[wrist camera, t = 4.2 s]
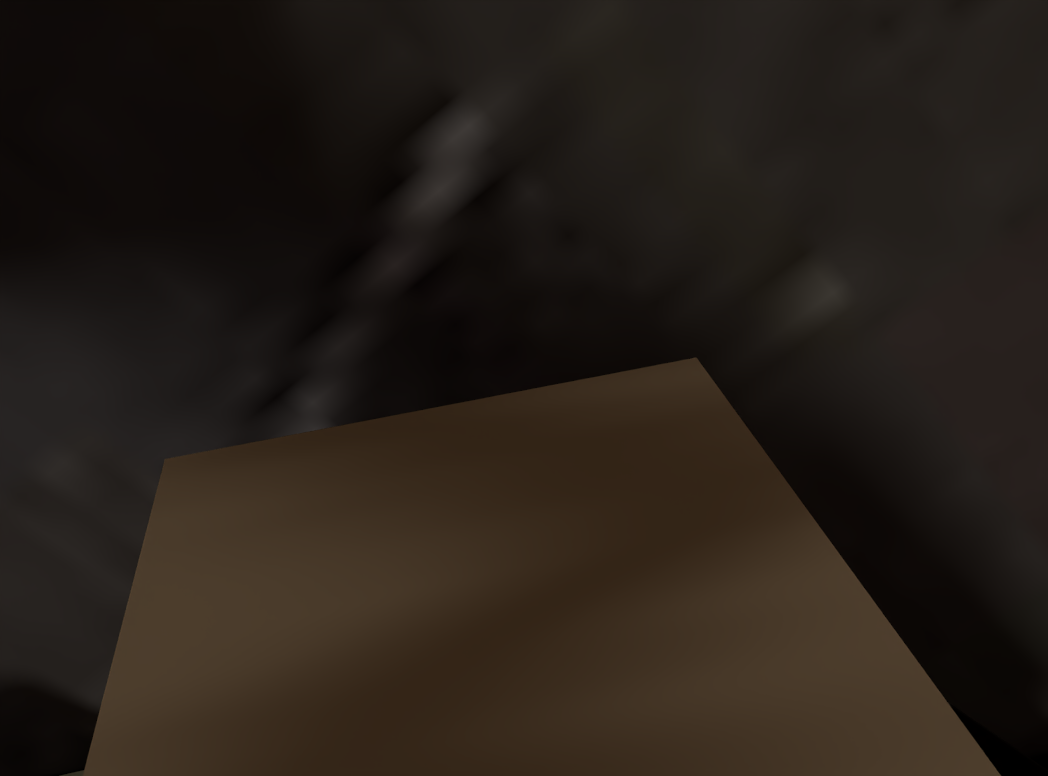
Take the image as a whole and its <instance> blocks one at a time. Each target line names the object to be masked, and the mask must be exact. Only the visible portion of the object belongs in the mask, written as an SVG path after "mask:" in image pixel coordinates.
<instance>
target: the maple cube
mask: <svg viewBox="0 0 1048 776" xmlns="http://www.w3.org/2000/svg"><path fill="white" fill-rule="evenodd" d="M83 776H1001V775H1000V774H999V772H998V771H997V770H996V768H995V767H994V766H993V764H992V763H991V761H990V760H989V759H988V757H987V756H986V755H985V753H984V752H983V750H982V749H981V748H980V746H979V745H978V744H977V742H976V741H975V739H974V738H973V737H972V735H971V734H970V733H969V731H968V730H967V728H966V727H965V726H964V724H963V723H962V722H961V720H960V719H959V717H958V716H957V715H956V713H955V712H954V711H953V709H952V708H951V707H950V705H949V704H948V702H947V701H946V700H945V698H944V697H943V696H942V694H941V693H940V691H939V690H938V689H937V687H936V686H935V685H934V683H933V682H932V680H931V679H930V678H929V676H928V675H927V674H926V672H925V671H924V669H923V668H922V667H921V665H920V664H919V663H918V661H917V660H916V658H915V657H914V656H913V654H912V653H911V652H910V650H909V649H908V647H907V646H906V645H905V643H904V642H903V641H902V639H901V638H900V636H899V635H898V634H897V632H896V631H895V630H894V628H893V627H892V625H891V624H890V623H889V621H888V620H887V619H886V617H885V616H884V615H883V613H882V612H881V610H880V609H879V608H878V606H877V605H876V604H875V602H874V601H873V599H872V598H871V597H870V595H869V594H868V593H867V591H866V590H865V588H864V587H863V586H862V584H861V583H860V582H859V580H858V579H857V577H856V576H855V575H854V573H853V572H852V571H851V569H850V568H849V566H848V565H847V564H846V562H845V561H844V560H843V558H842V557H841V555H840V554H839V553H838V551H837V550H836V549H835V547H834V546H833V544H832V543H831V542H830V540H829V539H828V538H827V536H826V535H825V533H824V532H823V531H822V529H821V528H820V527H819V525H818V524H817V523H816V521H815V520H814V518H813V517H812V516H811V514H810V513H809V512H808V510H807V509H806V507H805V506H804V505H803V503H802V502H801V501H800V499H799V498H798V496H797V495H796V494H795V492H794V491H793V490H792V488H791V487H790V485H789V484H788V483H787V481H786V480H785V479H784V477H783V476H782V474H781V473H780V472H779V470H778V469H777V468H776V466H775V465H774V463H773V462H772V461H771V459H770V458H769V457H768V455H767V454H766V452H765V451H764V450H763V448H762V447H761V446H760V444H759V443H758V441H757V440H756V439H755V437H754V436H753V435H752V433H751V432H750V431H749V429H748V428H747V426H746V425H745V424H744V422H743V421H742V420H741V418H740V417H739V415H738V414H737V413H736V411H735V410H734V409H733V407H732V406H731V404H730V403H729V402H728V400H727V399H726V398H725V396H724V395H723V393H722V392H721V391H720V389H719V388H718V387H717V385H716V384H715V382H714V381H713V380H712V378H711V377H710V376H709V374H708V373H707V371H706V370H705V369H704V367H703V366H702V365H701V363H700V362H699V360H698V359H697V358H691V359H686V360H681V361H676V362H670V363H665V364H660V365H655V366H650V367H644V368H639V369H634V370H629V371H623V372H618V373H613V374H608V375H602V376H597V377H592V378H587V379H582V380H576V381H571V382H566V383H561V384H555V385H550V386H545V387H540V388H535V389H529V390H524V391H519V392H514V393H508V394H503V395H498V396H493V397H488V398H482V399H477V400H472V401H467V402H461V403H456V404H451V405H446V406H441V407H435V408H430V409H425V410H420V411H414V412H409V413H404V414H399V415H394V416H388V417H383V418H378V419H373V420H367V421H362V422H357V423H352V424H346V425H341V426H336V427H331V428H326V429H320V430H315V431H310V432H305V433H299V434H294V435H289V436H284V437H279V438H273V439H268V440H263V441H258V442H252V443H247V444H242V445H237V446H232V447H226V448H221V449H216V450H211V451H205V452H200V453H195V454H190V455H185V456H179V457H174V458H169V459H165V461H164V465H163V469H162V472H161V476H160V480H159V484H158V488H157V492H156V496H155V499H154V503H153V507H152V511H151V515H150V519H149V523H148V526H147V530H146V534H145V538H144V542H143V546H142V550H141V553H140V557H139V561H138V565H137V569H136V573H135V577H134V580H133V584H132V588H131V592H130V596H129V600H128V604H127V607H126V611H125V615H124V619H123V623H122V627H121V631H120V634H119V638H118V642H117V646H116V650H115V654H114V658H113V661H112V665H111V669H110V673H109V677H108V681H107V685H106V688H105V692H104V696H103V700H102V704H101V708H100V712H99V715H98V719H97V723H96V727H95V731H94V735H93V738H92V742H91V746H90V750H89V754H88V758H87V762H86V765H85V769H84V773H83Z"/></svg>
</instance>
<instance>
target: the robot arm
mask: <svg viewBox="0 0 1048 776" xmlns="http://www.w3.org/2000/svg"><path fill="white" fill-rule="evenodd" d="M948 704H949V703H948ZM949 705H950V707H951V708H952V709H953V711H954V712H955V713H956V715H957V716H958V717H959V719H960V720H961V722H962V723H963V724H964V726H965V727H966V728H967V730H968V731H969V733H970V734H971V735H972V737H973V738H974V739H975V741H976V742H977V744H978V745H979V746H980V748H981V749H982V750H983V752H984V753H985V755H986V756H987V757H988V759H989V760H990V761H991V763H992V764H993V766H994V767H995V768H996V770H997V771H998V772H999V774H1000V775H1001V776H1048V760H1046V761H1042V762H1038V763H1036V762H1035V761H1033V760H1032V759H1030V758H1029V757H1028V756H1026V755H1025V754H1023V753H1022V752H1020V751H1019V750H1017V749H1016V748H1014V747H1013V746H1011V745H1010V744H1008V743H1007V742H1005V741H1004V740H1002V739H1001V738H1000V737H998V736H997V735H995V734H994V733H992V732H991V731H989V730H988V729H986V728H985V727H983V726H982V725H980V724H979V723H977V722H976V721H974V720H973V719H972V718H970V717H969V716H967V715H966V714H964V713H963V712H961V711H960V710H958V709H957V708H955V707H954V706H952V705H951V704H949Z"/></svg>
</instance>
